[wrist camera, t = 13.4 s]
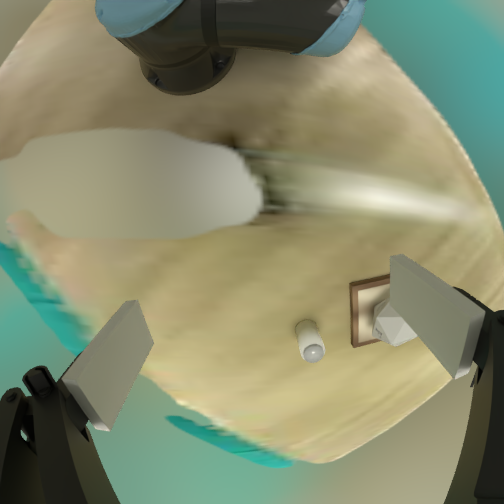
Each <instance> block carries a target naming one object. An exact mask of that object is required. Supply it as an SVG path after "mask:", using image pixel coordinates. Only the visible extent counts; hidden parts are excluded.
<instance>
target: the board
mask: <svg viewBox="0 0 504 504" xmlns="http://www.w3.org/2000/svg"><path fill="white" fill-rule="evenodd" d="M389 297H390V274H389V275H385V276H381V277H376V278H372V279H367V280H363V281H358V282H353V283H350V304H351V344H352V346H353V348H356V347H360V346H363V345H367V344H371V343H375V342H378V341H382V340H379V339H377V338H375V337H373V336H372V328H373V318H374V307H375V306H376V305H378V304H379V303H381V302H383V301H384V300H386V299H387V298H389Z"/></svg>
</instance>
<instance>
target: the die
mask: <svg viewBox="0 0 504 504" xmlns="http://www.w3.org/2000/svg"><path fill="white" fill-rule="evenodd" d="M372 336H373V337H375V338H377V339H379V340H382V341H384V342H386V343H388V344H391V345H393V346H395V347H397V346H399V345H401V344H403V343H405V342H407V341H410V340H412V339H414V338H416V337H418V335H417V334H416V333H415V332H414V331H413V330H412V329H411V327H410V326H409V325H408V324H407V323H406V322H405V321H404V320H403V318H402V317H401V316H400V315H399V314H398V313H397V312H396V311H395V310H394V309H393V307H392V306H391V305H390V297H389V298H387V299H386V300H384V301H383V302H381V303H379V304H378V305H376V306H375V307H374V318H373V328H372Z"/></svg>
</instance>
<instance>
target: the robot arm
mask: <svg viewBox="0 0 504 504" xmlns="http://www.w3.org/2000/svg"><path fill="white" fill-rule="evenodd" d="M365 2H366V0H96V3H95V12H96V16H97V18H98V20H99V21H100V22H101V23H102V24H103V25H104V26H105V27H106V30H107V31H108V32H109V34H110V35H112V36H113V37H115V38H116V39H117V40H119V41H120V42H121V43H122V44H124V45H125V46H126V47H127V48H128V49H130V50H131V51H132V52H133V53H134V54H136V55H137V56H138V57H139V60H140V66H141V70H142V72H143V74H144V76H145V78H146V79H147V80H148V81H149V82H150V83H151V84H152V85H153V86H155V87H156V88H157V89H159V90H160V91H162V92H165V93H168V94H172V95H191V94H196V93H199V92H202V91H204V90H206V89H209V88H210V87H212V86H214V85H215V84H217V83H218V82H219V81H220V80H221V79H222V78H223V77H224V76H225V75H226V74H227V73H228V71H229V70H230V68H231V66H232V64H233V62H234V59H235V53H236V48H249V49H262V50H272V51H281V52H289V53H290V54H292V55H303V54H304V55H311V56H318V57H329V56H332V55H335V54H337V53H339V52H340V51H342V50H343V49H344V48H345V47H346V46H347V45H348V44H349V42H350V41H351V40H352V38H353V36H354V35H355V33H356V31H357V29H358V27H359V25H360V23H361V20H362V18H363V15H364V11H365V7H364V4H365ZM390 305H391V306H392V307H393V309H394V310H395V311H396V312H397V313H398V314H399V315H400V316H401V317H402V318H403V320H404V321H405V322H406V323H407V324H408V325H409V326H410V327H411V329H412V330H413V331H414V332H415V333H416V334H417V335H418V337H419V338H420V339H421V340H422V341H423V342H424V344H425V345H426V346H427V347H428V348H429V349H430V351H431V352H432V353H433V354H434V355H435V357H436V358H437V359H438V360H439V361H440V363H441V364H442V365H443V366H444V367H445V369H446V370H447V371H448V372H449V374H450V375H451V376H452V377H453V379H454V380H455V379H457V378H459V377H461V376H463V375H465V374H467V373H469V370H470V367H471V364H472V361H474V362H475V363H476V364H477V365H478V367H477V370H476V373H475V375H474V378H473V381H472V383H471V386H470V387H473V385H474V389H473V397H472V403H471V409H470V415H469V420H468V425H467V430H466V435H465V439H464V443H463V447H462V451H461V455H460V458H459V461H458V465H457V468H456V471H455V474H454V477H453V480H452V483H451V486H450V489H449V491H448V494H447V497H446V499H445V502H444V504H504V310H499V311H496V312H493V311H492V310H491V309H489V308H488V307H487V306H485V305H484V304H483V303H481V302H480V301H478V300H476V298H474V297H473V296H471V295H470V294H469V293H467V292H466V291H464V290H462V289H460V288H457V287H451V286H450V285H449V284H447V283H446V282H444V281H443V280H441V279H440V278H438V277H437V276H435V275H434V274H433V273H431V272H430V271H428V270H427V269H425V268H424V267H422V266H420V265H419V264H417V263H416V262H414V261H413V260H411V259H410V258H408V257H407V256H405V255H403V254H399V255H394V256H390ZM153 344H154V342H153V339H152V337H151V334H150V331H149V329H148V326H147V324H146V321H145V318H144V316H143V313H142V310H141V307H140V304H139V302H138V300H131V301H126V302H125V303H124V304H123V305H122V306H121V307H120V308H119V309H118V311H117V312H116V313H115V314H114V315H113V316H112V318H111V319H110V320H109V321H108V322H107V323H106V324H105V326H104V327H103V328H102V329H101V330H100V332H99V333H98V334H97V335H96V336H95V338H94V339H93V340H92V341H91V342H90V344H89V345H88V346H87V347H86V348H85V350H84V351H82V352H81V353H80V354H79V355H78V356H77V357H76V358H75V360H74V362H72V363H71V365H70V367H68V368H67V370H66V371H65V372H64V373H63V375H62V376H61V377H60V379H59V380H58V381H57V382H55V380H54V379H53V377H52V375H51V374H50V372H49V370H48V368H47V367H45V366H37V367H34V368H32V369H30V370H29V371H28V372H27V373H26V374H25V375H24V376H23V379H22V381H23V382H24V384H25V386H26V387H27V389H28V390H29V392H30V393H31V395H32V396H27V397H26V396H25V394H24V393H23V391H22V390H21V389H20V388H18V387H16V388H12V389H9V390H7V391H6V393H5V394H4V395H3V396H2V398H1V400H0V504H120V502H119V500H118V498H117V496H116V494H115V492H114V490H113V488H112V486H111V484H110V481H109V479H108V477H107V475H106V472H105V470H104V468H103V466H102V464H101V461H100V458H99V455H98V453H97V450H96V448H95V445H94V442H93V439H92V436H91V434H90V431H89V430H88V428H87V427H86V424H87V422H88V420H90V422H91V423H92V425H93V426H94V427H95V429H98V430H104V431H111V429H112V427H113V425H114V423H115V420H116V418H117V416H118V414H119V412H120V410H121V408H122V406H123V404H124V402H125V399H126V398H127V395H128V394H129V392H130V390H131V388H132V386H133V383H134V381H135V380H136V377H137V375H138V374H139V372H140V370H141V368H142V366H143V364H144V362H145V360H146V358H147V356H148V354H149V352H150V350H151V348H152V346H153ZM21 430H22V431H23V432H24V433H25V435H26V436H27V440H26V441H25V440H24V439H23V438H22V436H21Z"/></svg>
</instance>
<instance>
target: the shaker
mask: <svg viewBox="0 0 504 504" xmlns="http://www.w3.org/2000/svg"><path fill="white" fill-rule="evenodd" d="M295 333H296V337H297V341H298V345H299V349H300V353H301V357H302V358H303V359H304V360H306V361H307V362H310V363H314V362H317V361H319V360H321V359H322V357H323V356H324V354H325V346H324V344H323V341H322V338H321V336H320V333H319V331H318V328H317V325H316V324H315V322H313V321H311V320H304V321H301V322H300V323H298V325H297V326H296V328H295Z"/></svg>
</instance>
